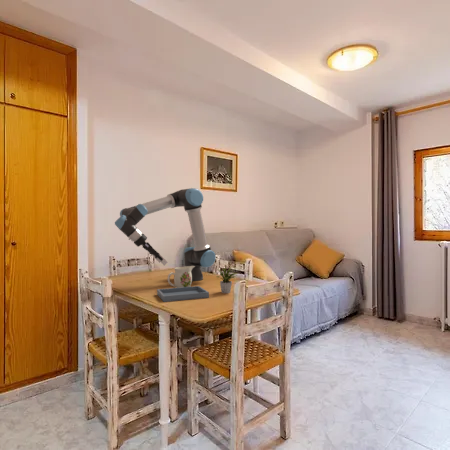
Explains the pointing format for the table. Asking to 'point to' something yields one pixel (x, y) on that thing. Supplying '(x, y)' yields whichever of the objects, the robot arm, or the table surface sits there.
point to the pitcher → (181, 276)
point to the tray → (182, 293)
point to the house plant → (226, 280)
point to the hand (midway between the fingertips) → (163, 262)
